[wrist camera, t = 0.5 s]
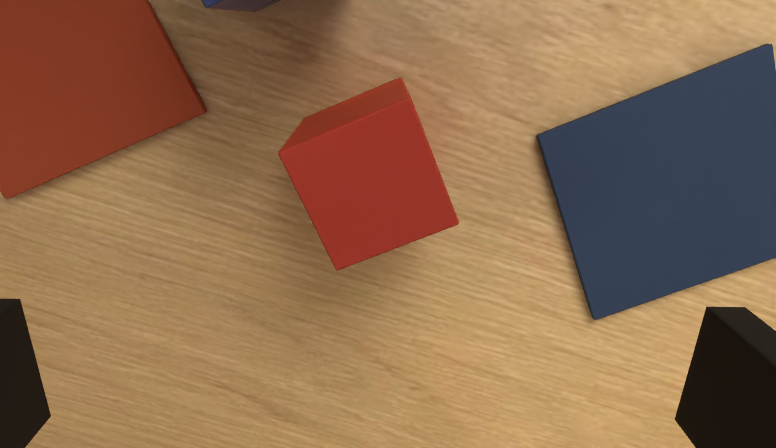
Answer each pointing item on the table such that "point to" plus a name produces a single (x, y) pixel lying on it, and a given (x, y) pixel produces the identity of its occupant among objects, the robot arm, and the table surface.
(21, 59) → the red mat
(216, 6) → the blue block
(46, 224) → the table surface
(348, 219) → the red block
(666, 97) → the blue mat
